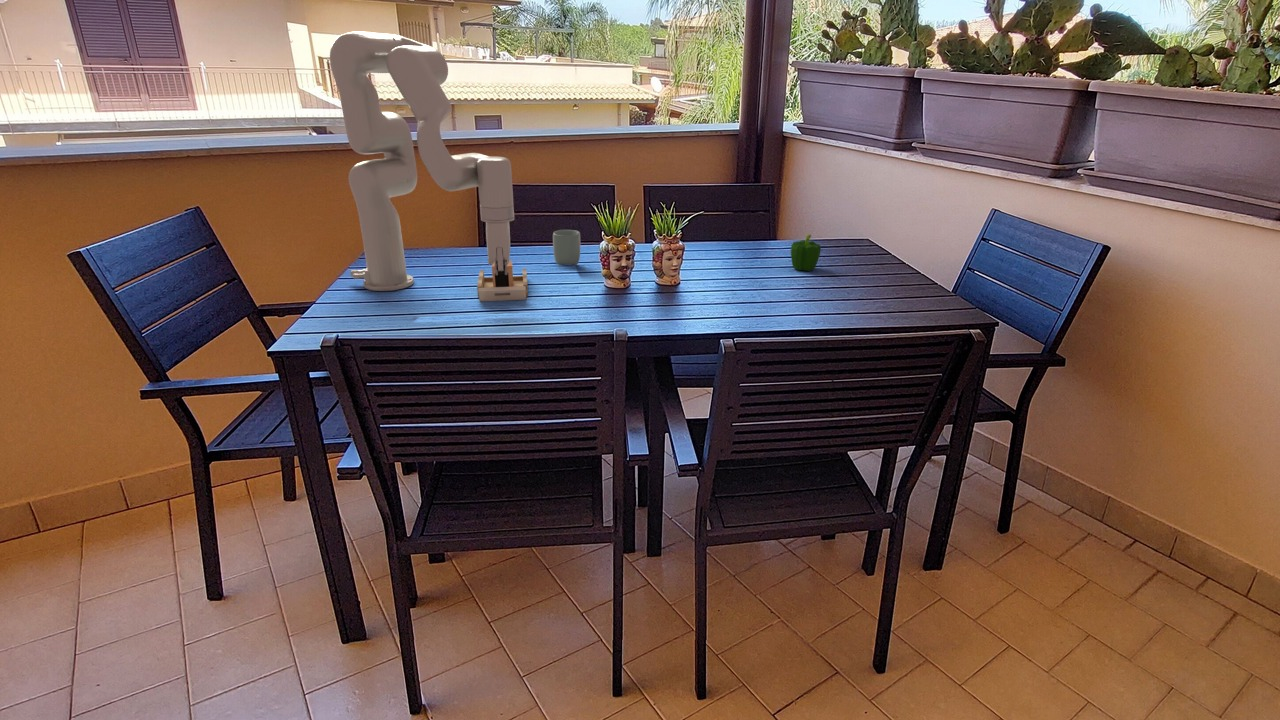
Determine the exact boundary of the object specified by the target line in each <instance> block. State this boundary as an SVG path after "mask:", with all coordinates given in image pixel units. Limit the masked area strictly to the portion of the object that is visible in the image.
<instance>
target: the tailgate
mask: <svg viewBox="0 0 1280 720" xmlns="http://www.w3.org/2000/svg"><path fill="white" fill-rule="evenodd" d="M478 293H479V302H497V301H520V300H521V301H523V300H527V297H526V287H525V286H516V287H489V288H478V290H477V294H478Z"/></svg>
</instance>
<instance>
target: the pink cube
mask: <svg viewBox="0 0 1280 720" xmlns="http://www.w3.org/2000/svg"><path fill="white" fill-rule="evenodd" d="M513 267H514V266H513V260H509V264H508V265H507V273H508V275H509V287H514V282H513V276H514V269H513ZM491 273H492V276H491V277H493V287H495V261H494V264H491Z"/></svg>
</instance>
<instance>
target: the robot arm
mask: <svg viewBox="0 0 1280 720" xmlns="http://www.w3.org/2000/svg"><path fill="white" fill-rule="evenodd" d="M329 63H330V64H329V65H330V69H331V73H332V75H333V79H334V81H335V84H336V88H337V90H338V94H339V98H340V105H341V111H342V116H343V121H344V127H345V132H346V135H347V140H348V143H349V145H350V148H351V149H352V150H353V152H355V153H357V154H360V155H375V154H376V155H377V154H383V156H384V158H376V159H370V160H363V161H361V162H358V163H356V164H354V166H352V167H351V169H350V171H349V173H348V185H349V187H350V190H351V195H352V197H353V199H354V202H355V204H356V209H357V214H358V221H359V225H360V230H361V231H360V232H361V238H362V245H363V250H364V257H365V263H366V268H362V269H351V270H350V277H351V278H353V279H354V280H359V279H363V281H362V285H363V288H364V289H366V290H370V291H375V292H390V291H392V292H393V291H397V290H398V291H399V290H402V289H406V288H408V287H410V286H412V285H413V284H414V283H415V281H414V277H413V276H412V275H410V274H408V273H407V265H406V264H407V263H406V259H405V258H406V257H405V251H404V243H403V235H402V227H401V221H400V220H401V219H400V215H399V213H398V211H397V209H396V207H395V206H394V204H393V203H392V201H391V198H395V197H399V196H404V195H405V196H406V195H407V194H408V195H409V194H410V193H412V192H413V191H414V190H415V189H416V186H417V183H418V169H417V162H416V155H415V149H414V143H413V137H412V133H411V129H410V127H409V124H408V122H407V121H406V120H405V119H404V118H403V116H401V115H400V114H399V113H396V112H392V111H382V110H381V104H380V99H379V93H378V91H377V89H376V87H375V86H374V84H373V82H372V80H371V79H370V78H369V77H368V74H389V75H390V77H391V79H392V80H393V82H394V83H395V85H396V87H397V90H398V91H399V93H400V94H401V96H402V98H403V99H404V101H405V103H406V104H407V107H409V110H410V112H411V113H412V115H413V116H414V118H415V120H416V123H417V127H416V128H417V129H416V141H417V142H416V143H417V150H418V154H419V157H420V159H421V161H422V163H423V164H424V167H426V168H425V169H426V170H427V172H428V173H429V175H430V177H431V178H432V180H433V181H434V182H435V183H436V184H437V186H439V187H440V188H441V189H443V190H445V191H446V192H447V191H448V192H456V191H462V190H467V189H471V188H476V187H477V188H478V196H479V197H478V199H479V209H480V220H481V221H482V222H484V223H485V234H486V235H485V236H486V237H485V239H486V250H487V251H486V252H487V263H488V265H489V266H492V264H494V261H495V287H509V275H508V273H507V265H508V264H509V261H511V258H510V257H511V235H510V234H511V232H510V230H511V228H510V222H513V221H514V220H515V211H514V209H515V208H514V207H515V206H514V191H513V176H512V175H513V174H512V171H513V170H512V163H511V160H510V159H509V158H507V157H504V156H490V155H485V154H483V153H478V152H468V153H461V154H454V155H451V154H450V152H449V150H448V148H447V146H446V145H445V142H444V141H443V139H442V135H441V123H442V122H444V121H445V120H446V119H447V118H448V117H449V115H450V114H451V112H452V103H451V102H450V100H449V98H448V97H447V95H446V94H445V91H444V90H443V88H442V87H441V85H443V84H444V83H445V82H446V80H447V79H448V75H449V66H448V63H447V60H446V58H445V57H444V55H443V54H442V53H441V52H440V51H439V50H438V49H436V48H435V47H433V46H431V45H428V44H425V43H422V42H419V41H415V40H414V39H411V38H409V37H405V36H402V35H400V34H399V35H398V34H392V33H383V32H373V31H372V32H371V31H349V32H345V33H342V34H340V35H338V36H337V37H336V38H335V39H334V40H333V42H332V45H331V47H330V51H329Z"/></svg>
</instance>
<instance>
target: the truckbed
mask: <svg viewBox="0 0 1280 720" xmlns="http://www.w3.org/2000/svg"><path fill="white" fill-rule="evenodd" d="M527 274H528V273H527V268H522V275H513V282H514V287H516V286H525V287H526V298H527V297H529V294H528V292H529V291H528V290H529V288H528V287H529V286H528V275H527ZM476 285H477V286H476V288H477V291H478V288H489V287H493V276H485V272H484V270H483V269H482V270H481V269H480V270H479V274H478V279H477V284H476ZM477 299H479V293H478V292H477ZM479 300H480V299H479Z"/></svg>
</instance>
